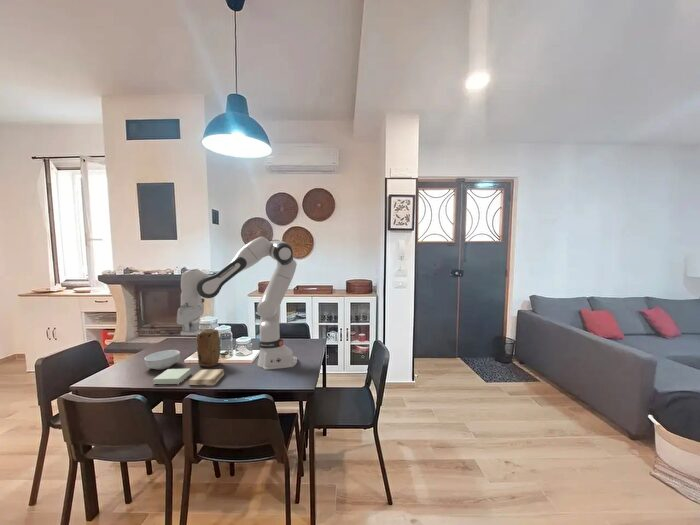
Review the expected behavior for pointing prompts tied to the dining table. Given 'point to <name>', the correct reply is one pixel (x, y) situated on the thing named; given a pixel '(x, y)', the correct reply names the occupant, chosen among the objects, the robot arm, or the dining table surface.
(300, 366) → the dining table surface
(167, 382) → the stand
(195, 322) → the housing
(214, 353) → the brown jar
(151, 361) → the cereal bowl
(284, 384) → the dining table surface
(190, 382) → the stand
